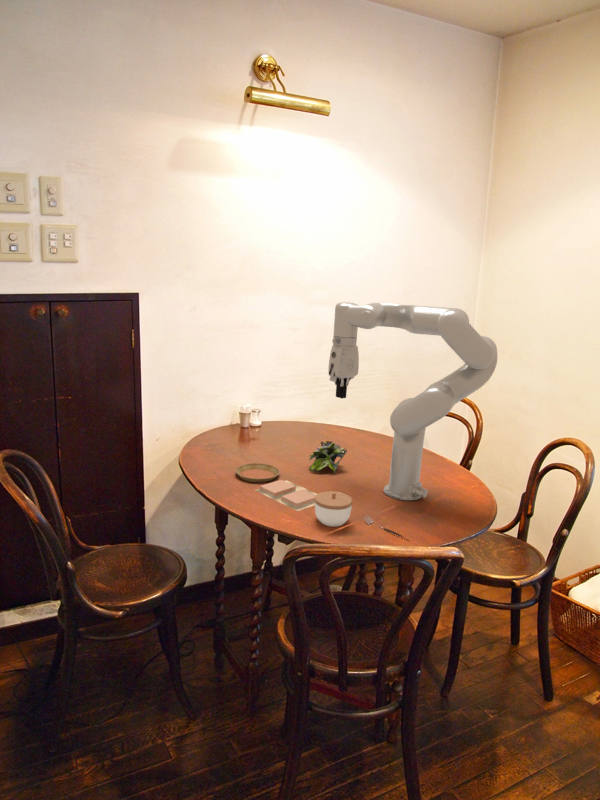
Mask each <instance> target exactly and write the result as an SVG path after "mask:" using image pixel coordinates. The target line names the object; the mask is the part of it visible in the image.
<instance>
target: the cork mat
mask: <svg viewBox="0 0 600 800" xmlns="http://www.w3.org/2000/svg"><path fill="white" fill-rule="evenodd" d="M284 481H285V482H287V483H289V484H292V485H294V486H296V491H299V490H302V489H303V490H305V491H307V492H310V493H312V494H314V495H317V494H318V493H316V492H314V491H312V490H309V489H307V488H305V487H303V486H301V485H298V484H295V483H294V482H292V481H289V480H284ZM254 491H255V492H257V493H259V494H261V495H264V496H265V497H267V498H269V499H271V500H274V501H276V502H278V503H280V504H281V505H284V506H285V507H288V508H290V509H292V510H294V511H296V512H301V511H302V510H305V509H309V508H311V507H315V502H314V503H311V504H309V505H306V506H303V507H300V508H295V507H292V506H290V505H288V504H286V503H284V502H282V501H281V496H279V497H276V498H274V497H272V496H270V495H268V494H265V493H263V492H261V491H260V487H259V488H256V489H254ZM296 491H294V492H296ZM291 493H292V492H291ZM288 494H289V493H288ZM285 495H286V494H285ZM282 496H283V495H282Z"/></svg>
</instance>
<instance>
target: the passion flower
mask: <svg viewBox="0 0 600 800" xmlns="http://www.w3.org/2000/svg"><path fill="white" fill-rule="evenodd" d="M347 449H348V448H345V447H341V445H339V444H337V443H335V442H333V441H332V440H331V441H329V440H325V441H320V446H318V447H317V448H316V449H314V450H313V451H312V454H309V456H308V457H309V459H308V460H309V461H311V460H312V459H314V461H313V462H312V464H311V465H310V466H309V468H308V470H309V472H313V471H316V472H319V471H321V470H323V469H324V468H325V467H327V466H328V467H329V468H330V469H331V470H332V471H333V475H335V473H336V471H337V468H338V466H339V465H340V464H339V463H340V462H341V461H342V459H343V458H344V457H345V455H346V453H347V452H348V450H347ZM337 458H340V459H339V460H338V461H336V459H337Z"/></svg>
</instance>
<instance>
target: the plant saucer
mask: <svg viewBox="0 0 600 800" xmlns="http://www.w3.org/2000/svg"><path fill="white" fill-rule="evenodd" d="M251 470H260V471H266V472H270V473H272V474H273V476H272V477H264V478H255V477H254V478H253V477H248V476H247V477H246V476H243V475H241V474H242V473H243V472H247V471H251ZM280 472H281V471H280V469H279V468H278V467H276V466H275V465H271V464H267V463H261V462H258V463H256V462H255V463H246V464H241V465H239V466H237V467H236V469H235V473H236V474H237V476H239V478H240V479H242V480H243V481H246V482H250V483H266V482H270V481H274V480H275V479H276V478H277V477H278V475H280V474H281V473H280Z"/></svg>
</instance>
